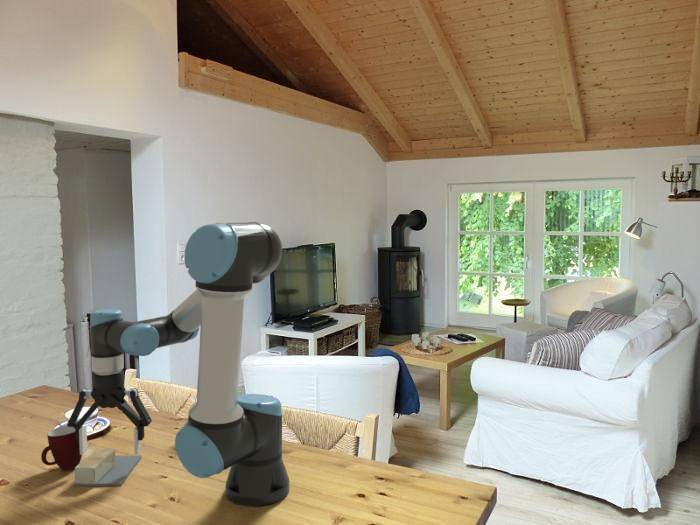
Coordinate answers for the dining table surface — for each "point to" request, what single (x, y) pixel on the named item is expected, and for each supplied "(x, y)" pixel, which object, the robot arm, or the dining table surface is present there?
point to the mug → (63, 448)
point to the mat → (117, 472)
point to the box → (95, 466)
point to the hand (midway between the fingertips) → (110, 452)
